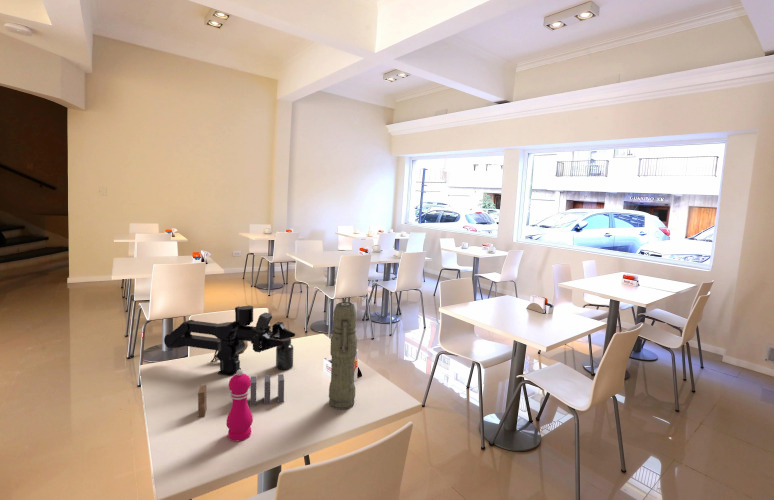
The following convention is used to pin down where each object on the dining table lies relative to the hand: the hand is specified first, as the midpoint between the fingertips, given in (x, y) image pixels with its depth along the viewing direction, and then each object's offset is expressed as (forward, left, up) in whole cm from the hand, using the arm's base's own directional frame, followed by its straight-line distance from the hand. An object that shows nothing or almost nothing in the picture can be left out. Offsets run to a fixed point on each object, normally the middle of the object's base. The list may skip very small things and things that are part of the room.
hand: (289, 338), depth 154 cm
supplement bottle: (-7, +11, -17) cm, 21 cm away
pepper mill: (+3, -37, -17) cm, 41 cm away
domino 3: (0, -16, -17) cm, 23 cm away
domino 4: (+4, -14, -17) cm, 22 cm away
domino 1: (-15, -29, -17) cm, 37 cm away
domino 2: (-4, -18, -17) cm, 25 cm away
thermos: (+25, -10, -17) cm, 31 cm away
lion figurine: (-32, +10, -17) cm, 37 cm away
